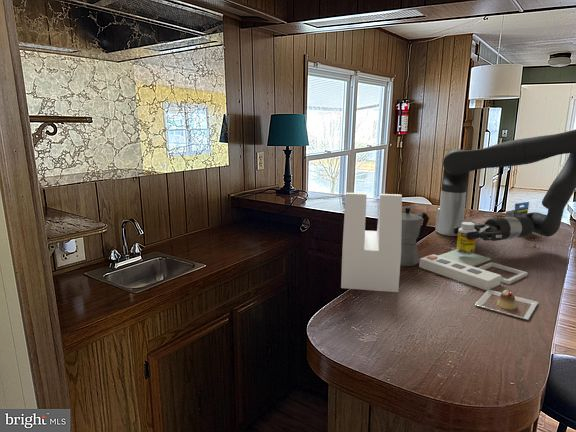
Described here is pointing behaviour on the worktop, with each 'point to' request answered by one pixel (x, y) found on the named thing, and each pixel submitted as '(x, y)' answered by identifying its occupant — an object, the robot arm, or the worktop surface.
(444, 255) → the mat
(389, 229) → the white slotted block
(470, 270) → the power strip
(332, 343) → the worktop surface
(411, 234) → the coffeepot
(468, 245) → the supplement bottle
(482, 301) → the dessert
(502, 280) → the white square frame
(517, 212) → the label tape box
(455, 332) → the worktop surface
